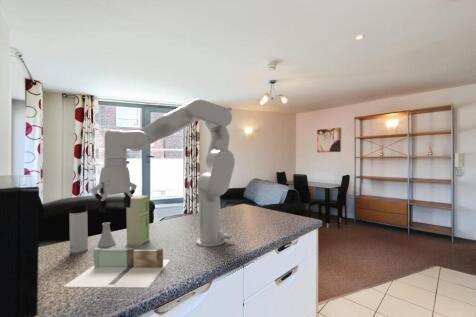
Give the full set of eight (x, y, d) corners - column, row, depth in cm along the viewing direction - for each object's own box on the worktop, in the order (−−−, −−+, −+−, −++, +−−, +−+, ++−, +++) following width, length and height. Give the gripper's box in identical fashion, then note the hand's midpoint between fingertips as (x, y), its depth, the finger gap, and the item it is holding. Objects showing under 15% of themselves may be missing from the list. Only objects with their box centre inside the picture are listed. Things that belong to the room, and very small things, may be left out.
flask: (101, 243, 114) (101, 221, 114) (118, 242, 115) (117, 220, 115) (94, 248, 107) (93, 225, 107) (111, 248, 107) (111, 225, 107)
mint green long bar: (128, 264, 88) (128, 247, 88) (126, 266, 87) (126, 249, 87) (96, 264, 89) (96, 247, 89) (93, 266, 87) (93, 249, 87)
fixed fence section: (163, 265, 88) (162, 248, 88) (161, 267, 86) (161, 250, 86) (129, 265, 89) (129, 248, 89) (127, 267, 87) (127, 250, 87)
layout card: (170, 260, 93) (170, 259, 93) (148, 288, 73) (148, 287, 73) (102, 260, 94) (102, 259, 94) (62, 287, 74) (62, 286, 74)
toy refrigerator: (141, 245, 109) (140, 198, 109) (126, 245, 111) (125, 198, 111) (151, 240, 117) (150, 195, 117) (137, 239, 119) (136, 195, 119)
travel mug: (68, 256, 99) (67, 206, 99) (71, 251, 105) (70, 203, 105) (87, 253, 102) (86, 204, 102) (88, 248, 107) (87, 202, 107)
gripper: (130, 163, 102) (129, 205, 102) (86, 163, 88) (85, 212, 88) (141, 163, 98) (141, 206, 98) (98, 163, 84) (97, 214, 84)
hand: (115, 209), depth 93 cm, fingers open, 9 cm apart
